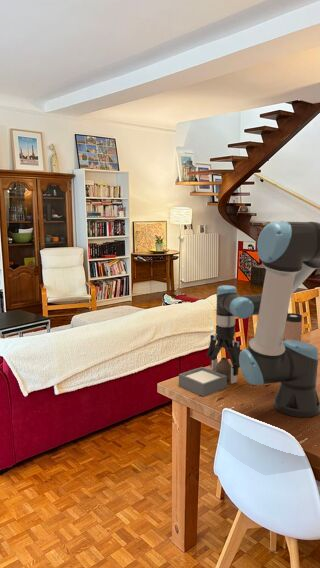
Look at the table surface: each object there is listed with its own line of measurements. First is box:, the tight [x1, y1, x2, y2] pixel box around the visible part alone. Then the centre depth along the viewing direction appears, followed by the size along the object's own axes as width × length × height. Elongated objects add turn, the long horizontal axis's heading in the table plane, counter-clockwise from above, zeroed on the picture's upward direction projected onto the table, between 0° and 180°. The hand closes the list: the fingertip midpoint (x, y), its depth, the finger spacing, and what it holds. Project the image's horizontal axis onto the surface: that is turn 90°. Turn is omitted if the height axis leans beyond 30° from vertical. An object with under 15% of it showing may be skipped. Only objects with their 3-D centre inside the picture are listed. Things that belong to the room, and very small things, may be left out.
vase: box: [215, 357, 233, 382], centre depth 174 cm, size 7×7×9 cm
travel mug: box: [283, 312, 303, 341], centre depth 201 cm, size 8×8×20 cm
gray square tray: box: [178, 366, 228, 397], centre depth 167 cm, size 13×13×5 cm
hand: (223, 378), depth 175 cm, fingers open, 10 cm apart
